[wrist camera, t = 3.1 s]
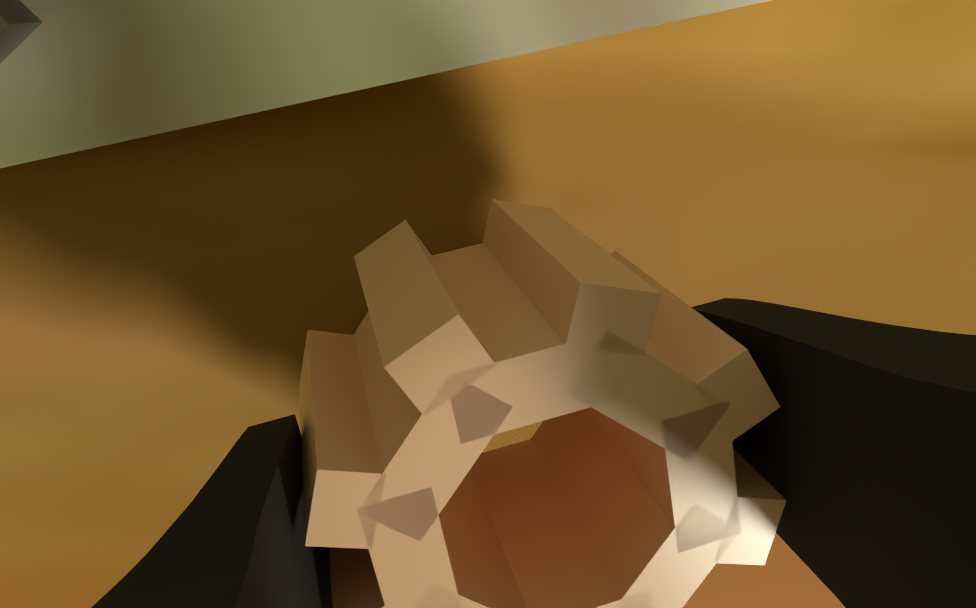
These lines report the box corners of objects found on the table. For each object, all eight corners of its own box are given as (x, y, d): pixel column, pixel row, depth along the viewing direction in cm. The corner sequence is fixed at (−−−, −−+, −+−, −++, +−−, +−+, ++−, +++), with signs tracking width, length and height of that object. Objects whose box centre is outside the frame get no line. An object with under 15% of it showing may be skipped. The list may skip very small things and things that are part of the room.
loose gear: (626, 166, 12) (769, 233, 9) (665, 475, 14) (795, 635, 11) (259, 254, 12) (247, 369, 8) (353, 568, 14) (378, 775, 10)
